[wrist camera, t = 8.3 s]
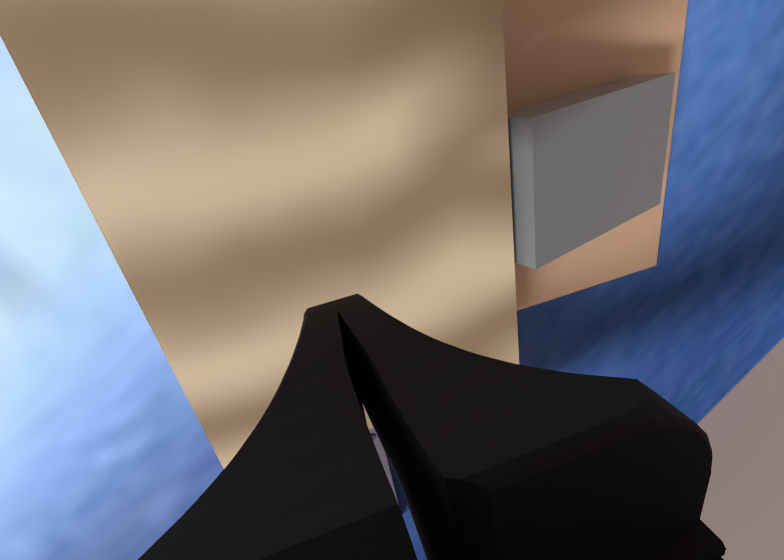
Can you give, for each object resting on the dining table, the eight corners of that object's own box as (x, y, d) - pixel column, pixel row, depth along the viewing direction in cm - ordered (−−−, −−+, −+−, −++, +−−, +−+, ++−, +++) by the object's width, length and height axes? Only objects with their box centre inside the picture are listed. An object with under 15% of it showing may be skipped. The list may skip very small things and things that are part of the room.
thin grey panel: (621, 197, 23) (660, 203, 21) (500, 257, 19) (535, 269, 18) (630, 75, 20) (675, 72, 19) (491, 117, 17) (532, 117, 15)
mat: (652, 263, 26) (656, 265, 26) (488, 316, 24) (491, 319, 24) (689, -63, 19) (696, -65, 19) (459, -25, 17) (463, -27, 17)
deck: (481, 333, 24) (519, 375, 21) (232, 416, 22) (229, 479, 18) (445, -55, 16) (497, -93, 13) (42, 5, 14) (-30, -22, 10)
